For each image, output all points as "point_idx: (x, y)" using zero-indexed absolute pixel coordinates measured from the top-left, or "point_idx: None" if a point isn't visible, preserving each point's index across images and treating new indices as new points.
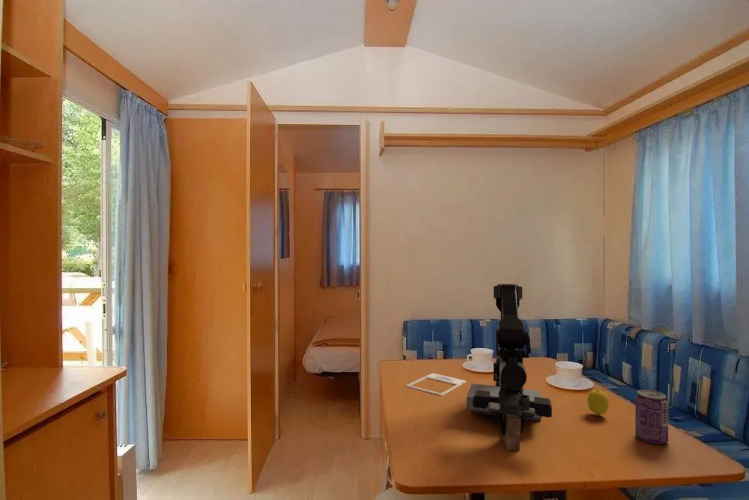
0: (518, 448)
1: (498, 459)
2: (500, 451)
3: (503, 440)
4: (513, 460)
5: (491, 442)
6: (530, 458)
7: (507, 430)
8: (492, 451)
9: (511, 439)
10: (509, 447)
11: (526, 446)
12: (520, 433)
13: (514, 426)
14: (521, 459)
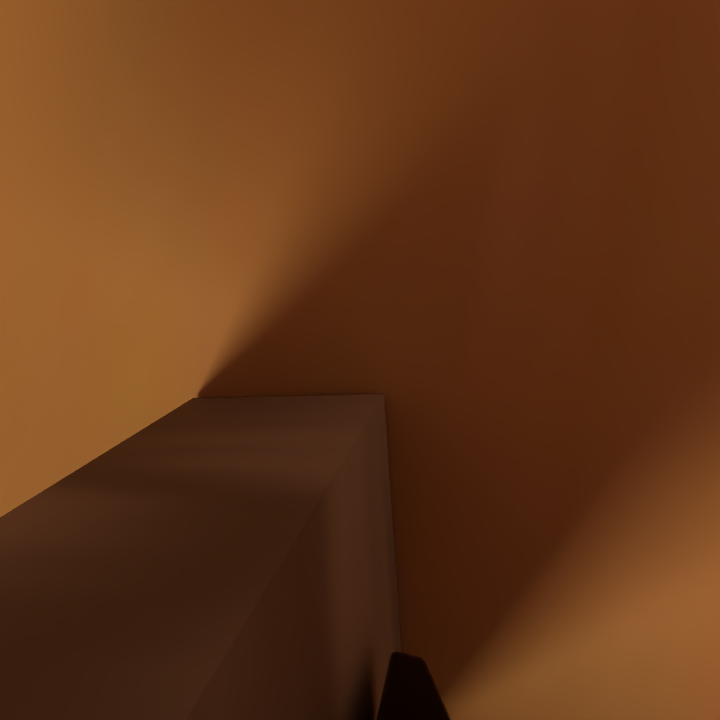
0: (197, 405)
1: (601, 20)
2: (508, 332)
3: None
4: (330, 44)
5: (610, 618)
6: (59, 174)
7: (296, 596)
8: (657, 312)
9: (262, 455)
10: (340, 403)
11: None
12: None
13: (3, 642)
14: (195, 110)
